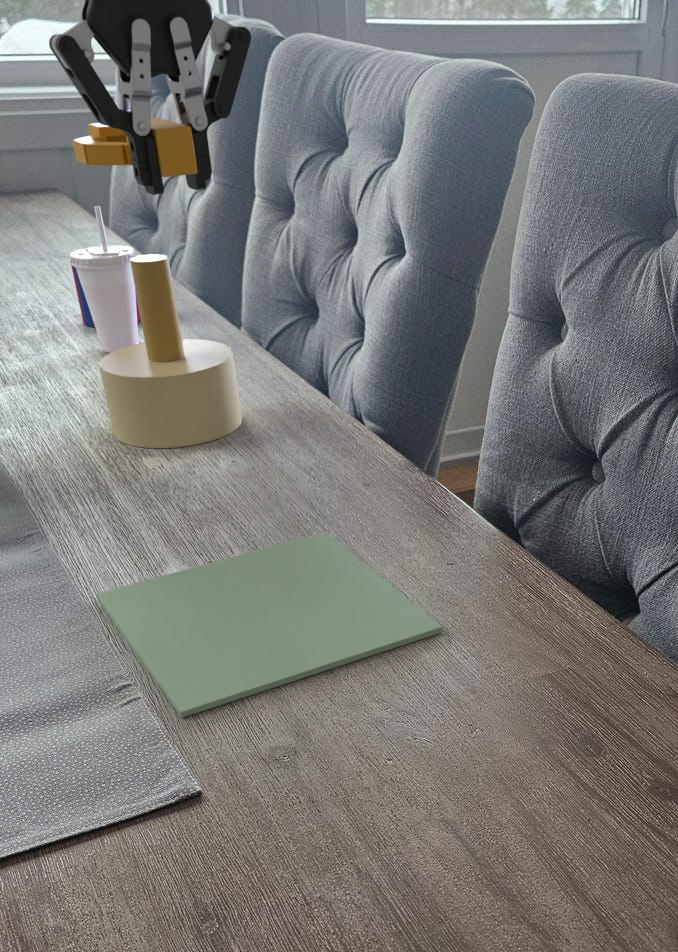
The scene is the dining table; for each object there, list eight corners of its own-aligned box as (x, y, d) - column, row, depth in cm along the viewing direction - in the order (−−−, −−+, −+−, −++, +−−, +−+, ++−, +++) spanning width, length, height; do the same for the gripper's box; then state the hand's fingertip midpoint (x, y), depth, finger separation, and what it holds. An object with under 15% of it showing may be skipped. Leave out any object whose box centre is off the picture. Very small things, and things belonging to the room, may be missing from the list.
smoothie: (118, 359, 115) (89, 214, 107) (76, 350, 118) (45, 208, 110) (164, 343, 119) (140, 203, 112) (123, 335, 122) (96, 198, 115)
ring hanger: (62, 154, 88) (53, 111, 87) (158, 145, 92) (152, 104, 90) (125, 181, 76) (117, 132, 75) (233, 170, 80) (227, 123, 78)
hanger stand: (135, 458, 91) (100, 281, 84) (97, 420, 99) (62, 255, 92) (261, 430, 96) (238, 260, 89) (215, 396, 104) (191, 237, 97)
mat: (181, 718, 59) (180, 712, 59) (96, 599, 71) (95, 593, 71) (442, 632, 66) (442, 626, 66) (326, 536, 78) (326, 531, 78)
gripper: (214, -102, 76) (247, 174, 86) (2, -103, 70) (62, 194, 79) (257, -108, 71) (287, 187, 80) (31, -110, 65) (92, 209, 74)
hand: (175, 189), depth 80 cm, fingers closed on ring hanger, 2 cm apart
